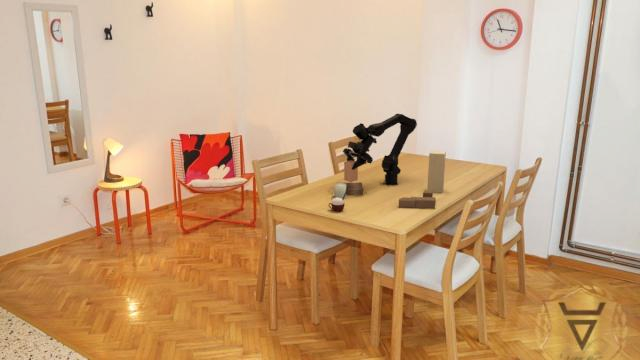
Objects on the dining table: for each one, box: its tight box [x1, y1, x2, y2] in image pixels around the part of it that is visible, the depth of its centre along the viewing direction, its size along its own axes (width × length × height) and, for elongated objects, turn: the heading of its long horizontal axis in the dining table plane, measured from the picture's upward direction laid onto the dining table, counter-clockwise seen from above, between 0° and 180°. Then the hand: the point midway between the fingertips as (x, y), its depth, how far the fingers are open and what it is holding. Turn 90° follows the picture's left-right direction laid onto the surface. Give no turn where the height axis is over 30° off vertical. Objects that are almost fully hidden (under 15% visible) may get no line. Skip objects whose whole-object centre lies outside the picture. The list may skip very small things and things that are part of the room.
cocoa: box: [328, 186, 349, 213], centre depth 248 cm, size 10×6×12 cm, turn 59°
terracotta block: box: [343, 160, 359, 183], centre depth 275 cm, size 5×5×10 cm
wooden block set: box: [398, 189, 437, 210], centre depth 259 cm, size 17×6×18 cm
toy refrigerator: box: [426, 150, 447, 194], centre depth 277 cm, size 8×7×21 cm
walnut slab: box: [344, 182, 364, 196], centre depth 280 cm, size 14×14×3 cm
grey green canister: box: [333, 182, 347, 200], centre depth 269 cm, size 6×6×7 cm
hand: (348, 168), depth 274 cm, fingers closed on terracotta block, 5 cm apart
